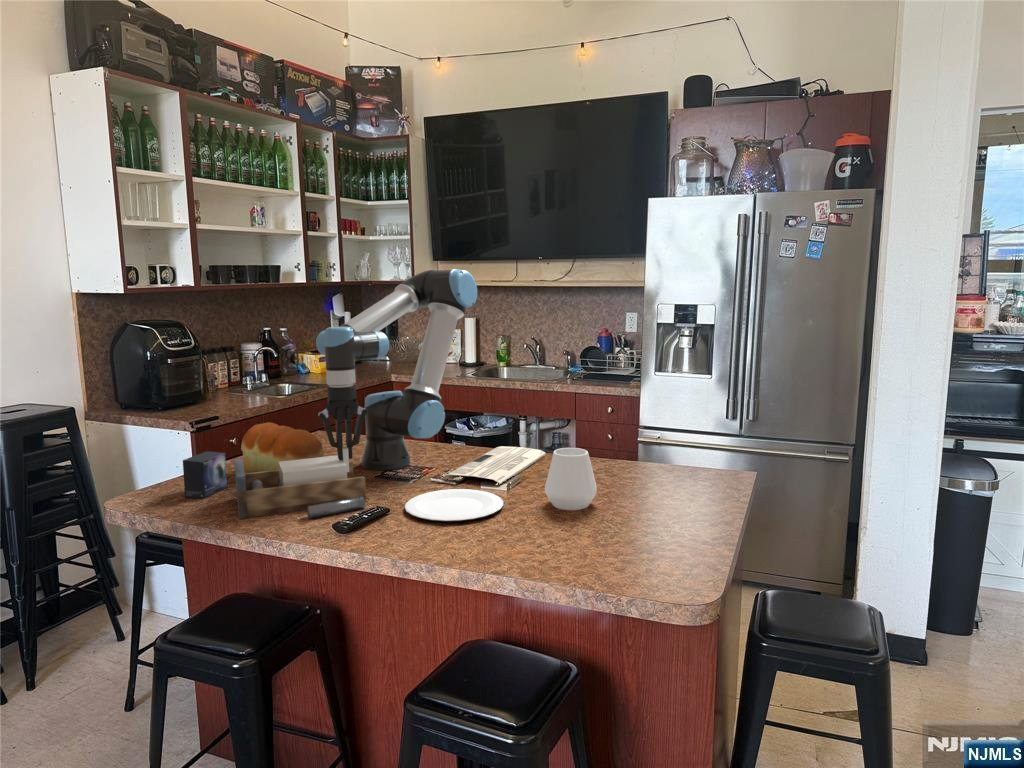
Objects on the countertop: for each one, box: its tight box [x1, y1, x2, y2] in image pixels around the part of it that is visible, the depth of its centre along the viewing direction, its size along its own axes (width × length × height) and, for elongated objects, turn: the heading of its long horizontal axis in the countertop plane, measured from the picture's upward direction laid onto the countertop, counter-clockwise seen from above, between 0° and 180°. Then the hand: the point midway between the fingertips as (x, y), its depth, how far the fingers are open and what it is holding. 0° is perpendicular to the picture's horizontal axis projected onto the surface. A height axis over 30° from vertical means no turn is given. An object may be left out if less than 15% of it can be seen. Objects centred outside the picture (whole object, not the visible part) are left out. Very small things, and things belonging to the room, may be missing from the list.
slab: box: [278, 454, 347, 486], centre depth 184 cm, size 16×12×4 cm
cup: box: [544, 447, 598, 511], centre depth 176 cm, size 13×13×14 cm
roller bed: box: [233, 458, 367, 519], centre depth 183 cm, size 31×18×10 cm, turn 113°
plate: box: [404, 488, 504, 523], centre depth 175 cm, size 25×25×2 cm
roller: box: [306, 496, 366, 519], centre depth 172 cm, size 14×3×3 cm, turn 123°
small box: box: [182, 450, 228, 499], centre depth 190 cm, size 11×6×10 cm, turn 168°
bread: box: [240, 421, 325, 473], centre depth 206 cm, size 25×12×15 cm, turn 50°
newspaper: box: [443, 445, 546, 486], centre depth 213 cm, size 37×19×3 cm, turn 157°
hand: (345, 471), depth 187 cm, fingers closed
